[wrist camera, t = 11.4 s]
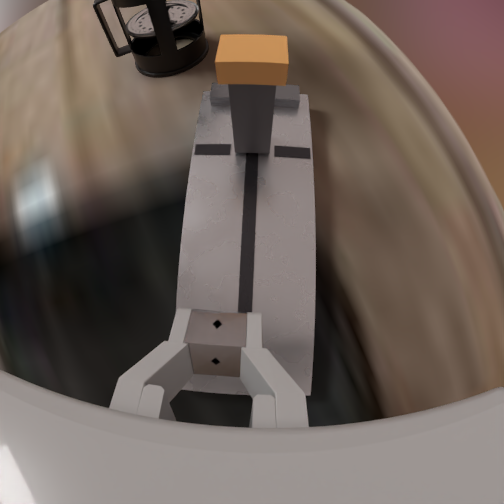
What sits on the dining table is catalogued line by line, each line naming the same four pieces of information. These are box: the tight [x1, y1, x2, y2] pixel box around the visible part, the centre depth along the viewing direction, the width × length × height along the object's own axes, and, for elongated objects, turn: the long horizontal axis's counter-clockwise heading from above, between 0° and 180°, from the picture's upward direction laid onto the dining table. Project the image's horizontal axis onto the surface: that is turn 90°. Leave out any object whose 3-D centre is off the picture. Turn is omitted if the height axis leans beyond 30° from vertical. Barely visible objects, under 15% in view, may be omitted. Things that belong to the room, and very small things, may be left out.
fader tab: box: [215, 34, 289, 154], centre depth 18 cm, size 3×4×10 cm
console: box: [176, 83, 316, 395], centre depth 22 cm, size 26×10×3 cm, turn 178°
